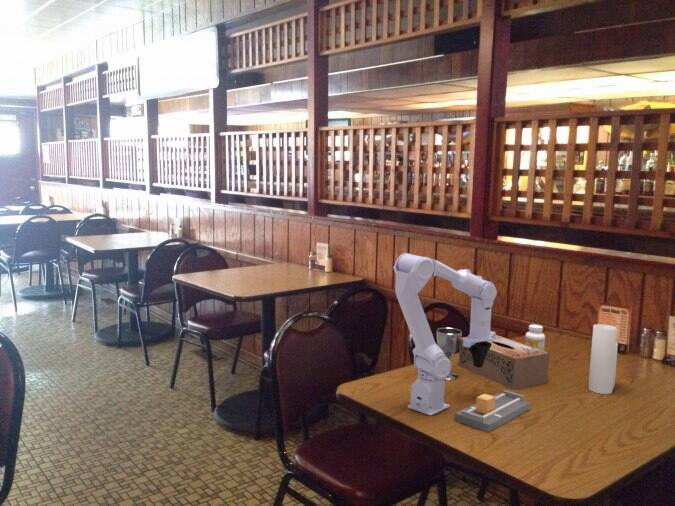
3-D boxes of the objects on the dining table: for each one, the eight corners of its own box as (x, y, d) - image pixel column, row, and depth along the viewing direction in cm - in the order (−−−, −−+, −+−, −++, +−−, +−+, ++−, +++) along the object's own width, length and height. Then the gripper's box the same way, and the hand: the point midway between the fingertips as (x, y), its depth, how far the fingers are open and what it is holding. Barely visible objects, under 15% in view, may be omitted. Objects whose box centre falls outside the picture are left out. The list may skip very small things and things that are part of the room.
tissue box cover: (547, 383, 185) (549, 353, 184) (513, 390, 178) (515, 358, 177) (490, 360, 208) (492, 333, 206) (458, 366, 201) (460, 337, 200)
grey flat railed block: (487, 432, 147) (488, 420, 147) (454, 420, 154) (454, 408, 154) (529, 409, 163) (530, 397, 163) (497, 399, 170) (498, 388, 169)
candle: (611, 395, 174) (616, 330, 172) (585, 391, 178) (590, 327, 176) (615, 384, 184) (620, 323, 182) (590, 380, 188) (595, 319, 185)
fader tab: (486, 414, 153) (487, 400, 152) (475, 411, 155) (476, 396, 154) (494, 410, 155) (495, 396, 155) (483, 407, 158) (484, 393, 157)
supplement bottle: (519, 359, 209) (521, 324, 207) (533, 357, 211) (536, 323, 210) (533, 365, 203) (535, 329, 201) (547, 363, 205) (550, 327, 204)
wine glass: (431, 377, 188) (433, 331, 186) (439, 370, 195) (441, 326, 193) (455, 381, 185) (457, 335, 183) (462, 374, 192) (464, 329, 190)
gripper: (479, 327, 160) (476, 375, 162) (505, 319, 171) (503, 364, 172) (457, 323, 165) (455, 369, 167) (484, 315, 175) (482, 359, 177)
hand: (478, 366), depth 170 cm, fingers closed
